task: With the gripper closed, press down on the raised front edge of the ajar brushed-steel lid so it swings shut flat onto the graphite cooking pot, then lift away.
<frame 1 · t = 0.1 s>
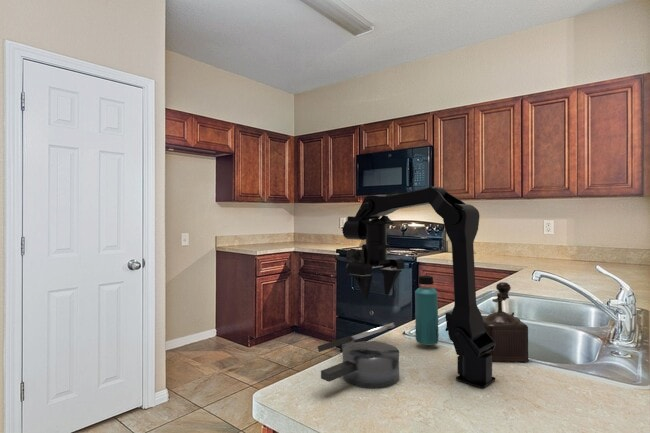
hand: (376, 297, 108), 15 cm above the worktop, fingers open, 9 cm apart
beverage bottle: (426, 347, 111), on the worktop
lid: (355, 336, 89), point 10 cm above the worktop, hinge at 25.0°
pot: (370, 376, 91), on the worktop
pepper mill: (498, 352, 106), on the worktop
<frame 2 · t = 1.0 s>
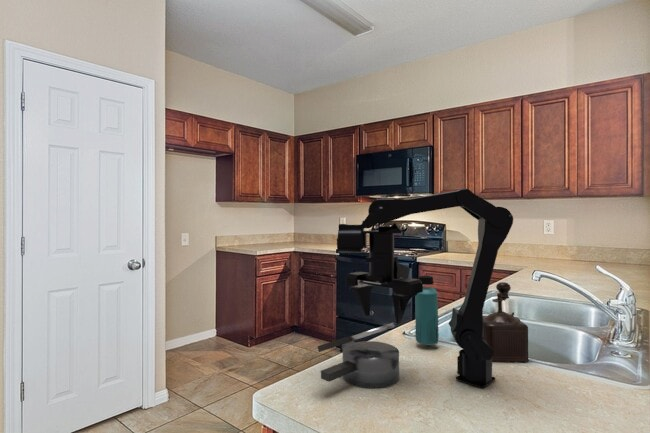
hand: (382, 319, 91), 13 cm above the worktop, fingers open, 9 cm apart
nothing on the worktop moved.
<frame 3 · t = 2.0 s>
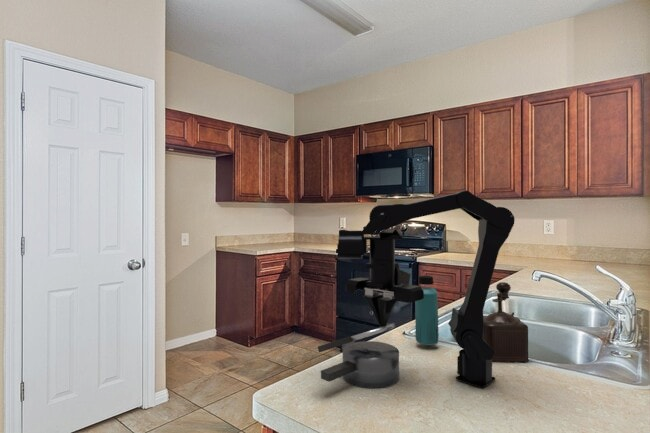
hand: (382, 326, 91), 12 cm above the worktop, fingers closed
lid: (355, 337, 89), point 10 cm above the worktop, hinge at 24.2°, touching gripper
everything else where it was.
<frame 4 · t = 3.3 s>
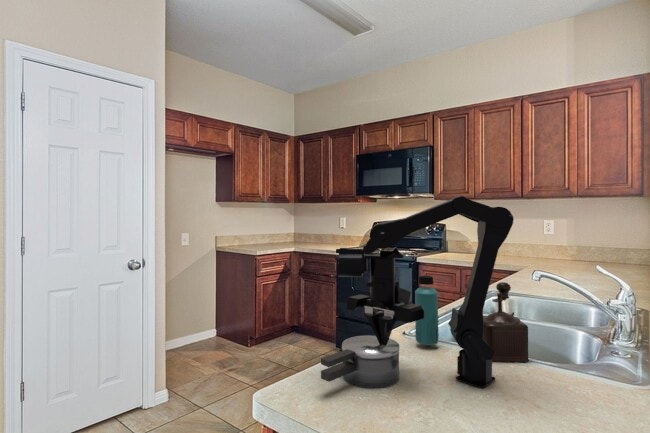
hand: (383, 344, 90), 7 cm above the worktop, fingers closed, pressing on lid
lid: (359, 350, 88), point 7 cm above the worktop, hinge at -0.2°, touching gripper
everything else where it was.
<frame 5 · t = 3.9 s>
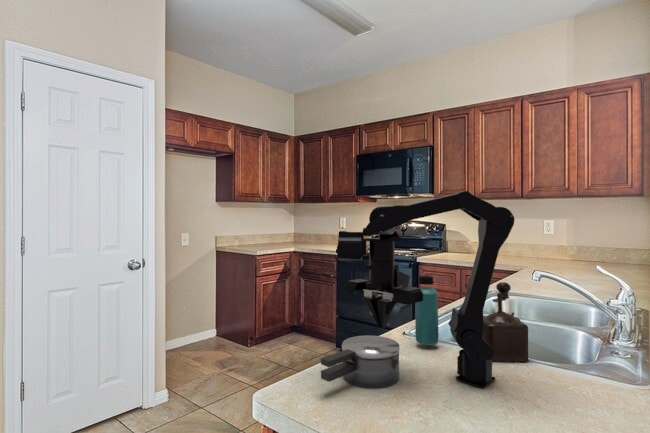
hand: (382, 327, 91), 11 cm above the worktop, fingers closed
lid: (359, 350, 88), point 7 cm above the worktop, hinge at -0.2°
everything else where it was.
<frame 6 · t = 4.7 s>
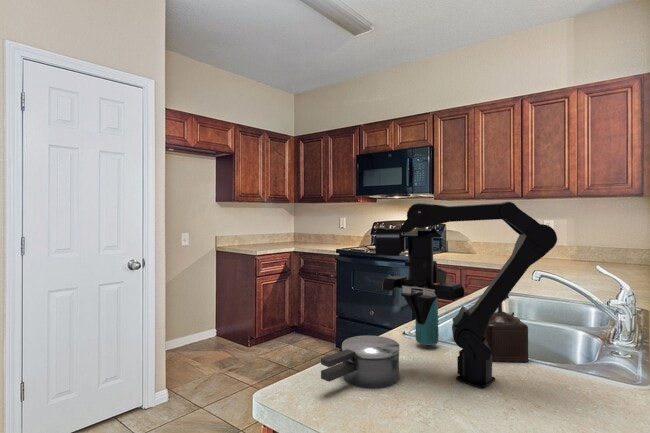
hand: (421, 324, 91), 12 cm above the worktop, fingers closed
nothing on the worktop moved.
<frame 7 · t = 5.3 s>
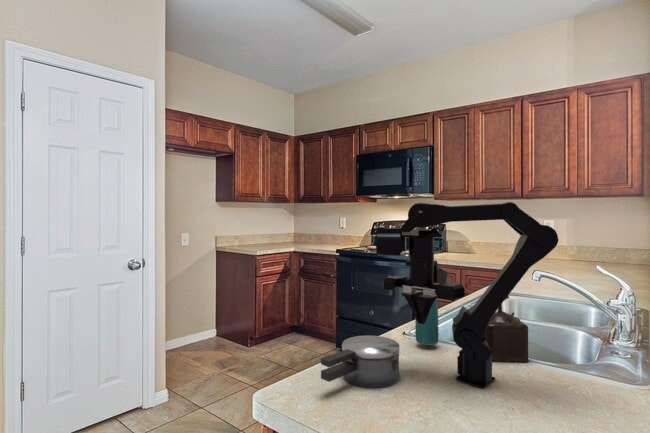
hand: (421, 323, 91), 12 cm above the worktop, fingers closed
nothing on the worktop moved.
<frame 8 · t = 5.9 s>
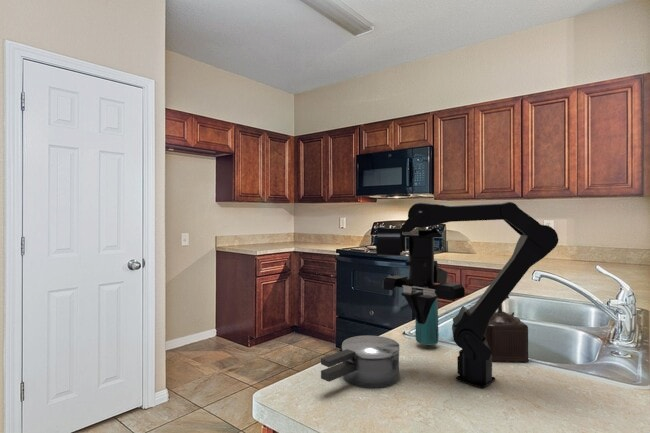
hand: (421, 323, 91), 12 cm above the worktop, fingers closed
nothing on the worktop moved.
at the end: lid at +0° (first picture: +25°) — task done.
